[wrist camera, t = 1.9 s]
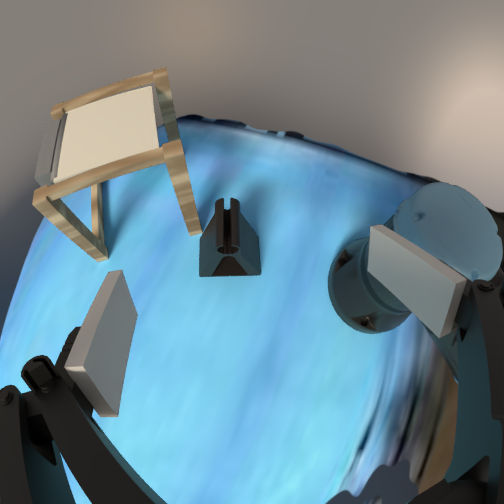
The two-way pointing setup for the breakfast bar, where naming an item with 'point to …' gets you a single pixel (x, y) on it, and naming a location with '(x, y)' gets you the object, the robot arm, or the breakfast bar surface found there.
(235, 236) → the phone stand
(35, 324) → the breakfast bar surface
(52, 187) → the trapdoor frame
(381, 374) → the breakfast bar surface
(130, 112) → the trapdoor
